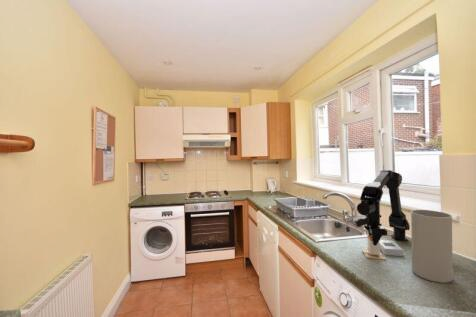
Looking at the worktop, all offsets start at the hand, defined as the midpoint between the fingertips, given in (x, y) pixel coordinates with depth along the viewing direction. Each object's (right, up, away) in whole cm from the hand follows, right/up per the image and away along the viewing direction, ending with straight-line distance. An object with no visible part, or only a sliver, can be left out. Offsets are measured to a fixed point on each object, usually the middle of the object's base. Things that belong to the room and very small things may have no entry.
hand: (373, 243), depth 110 cm
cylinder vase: (+12, -6, -19) cm, 23 cm away
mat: (0, -6, 0) cm, 6 cm away
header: (+11, -6, +5) cm, 14 cm away
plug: (0, -5, 0) cm, 4 cm away
